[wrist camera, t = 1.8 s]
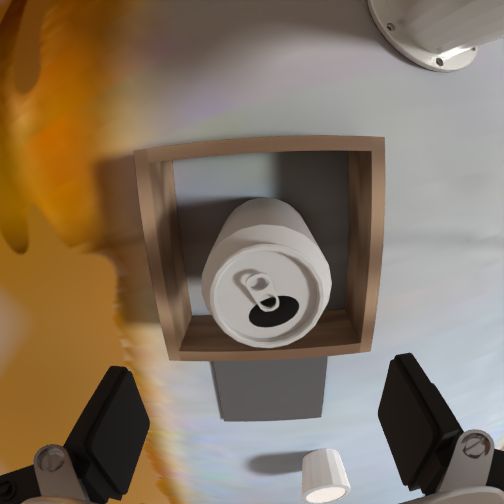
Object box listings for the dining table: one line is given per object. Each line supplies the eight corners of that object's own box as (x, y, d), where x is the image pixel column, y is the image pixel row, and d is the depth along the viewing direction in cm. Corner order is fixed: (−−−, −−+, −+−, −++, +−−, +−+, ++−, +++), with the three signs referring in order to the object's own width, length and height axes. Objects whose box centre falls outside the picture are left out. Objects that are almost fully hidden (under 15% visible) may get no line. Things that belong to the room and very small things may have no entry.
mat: (211, 344, 31) (210, 346, 31) (328, 339, 31) (328, 341, 30) (224, 419, 35) (224, 421, 35) (320, 415, 34) (320, 417, 34)
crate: (160, 149, 25) (133, 150, 19) (358, 138, 24) (384, 137, 19) (184, 324, 31) (169, 360, 25) (353, 316, 30) (370, 351, 24)
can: (242, 289, 29) (232, 373, 18) (208, 216, 27) (170, 266, 16) (319, 259, 28) (353, 332, 17) (288, 182, 26) (310, 208, 15)
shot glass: (329, 440, 36) (336, 480, 30) (351, 456, 38) (359, 492, 31) (288, 458, 38) (291, 497, 31) (313, 473, 40) (317, 508, 33)
